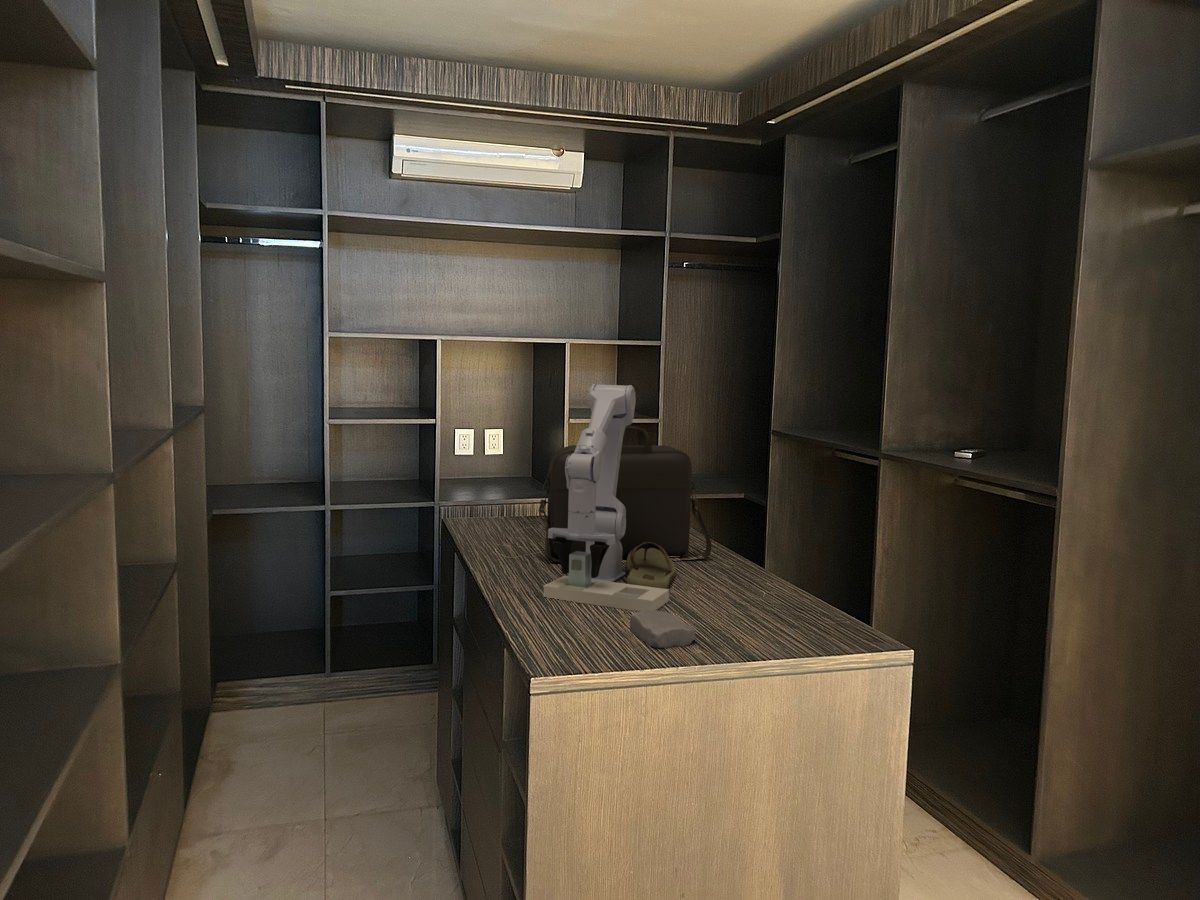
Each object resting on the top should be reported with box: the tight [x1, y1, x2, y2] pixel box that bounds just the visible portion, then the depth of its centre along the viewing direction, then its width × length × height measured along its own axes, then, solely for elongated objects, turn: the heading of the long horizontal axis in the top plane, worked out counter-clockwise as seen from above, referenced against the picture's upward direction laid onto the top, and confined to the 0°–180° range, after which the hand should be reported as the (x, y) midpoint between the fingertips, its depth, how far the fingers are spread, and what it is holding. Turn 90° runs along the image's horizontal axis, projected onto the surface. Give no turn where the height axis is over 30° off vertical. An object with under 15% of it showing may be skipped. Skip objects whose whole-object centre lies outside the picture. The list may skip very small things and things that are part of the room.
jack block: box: [543, 575, 670, 612], centre depth 193 cm, size 10×24×3 cm, turn 67°
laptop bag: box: [538, 424, 712, 563], centre depth 232 cm, size 43×13×33 cm, turn 102°
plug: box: [568, 551, 592, 588], centre depth 195 cm, size 4×4×9 cm
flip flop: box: [625, 542, 677, 589], centre depth 211 cm, size 29×12×8 cm, turn 173°
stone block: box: [629, 610, 696, 650], centre depth 169 cm, size 12×5×10 cm
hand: (580, 575), depth 195 cm, fingers open, 6 cm apart
